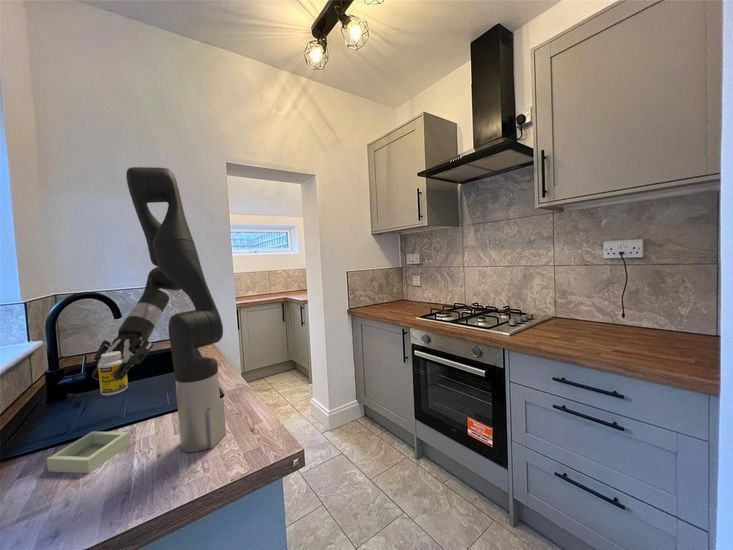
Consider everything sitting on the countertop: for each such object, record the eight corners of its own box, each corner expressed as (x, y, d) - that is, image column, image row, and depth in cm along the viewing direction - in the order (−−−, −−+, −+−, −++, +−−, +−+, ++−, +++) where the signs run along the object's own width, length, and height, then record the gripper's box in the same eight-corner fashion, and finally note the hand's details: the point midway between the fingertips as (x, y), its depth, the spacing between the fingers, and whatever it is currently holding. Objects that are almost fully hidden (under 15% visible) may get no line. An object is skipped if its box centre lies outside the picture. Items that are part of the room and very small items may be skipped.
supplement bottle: (98, 398, 74) (94, 358, 74) (103, 390, 79) (98, 352, 78) (127, 392, 77) (123, 353, 77) (129, 384, 82) (125, 348, 81)
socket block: (129, 443, 75) (128, 432, 74) (89, 473, 65) (87, 460, 64) (93, 442, 75) (92, 431, 75) (48, 471, 66) (46, 458, 65)
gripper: (109, 315, 85) (68, 372, 74) (156, 314, 83) (121, 373, 73) (127, 328, 90) (92, 383, 80) (171, 328, 89) (142, 384, 78)
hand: (106, 378), depth 76 cm, fingers closed on supplement bottle, 5 cm apart
